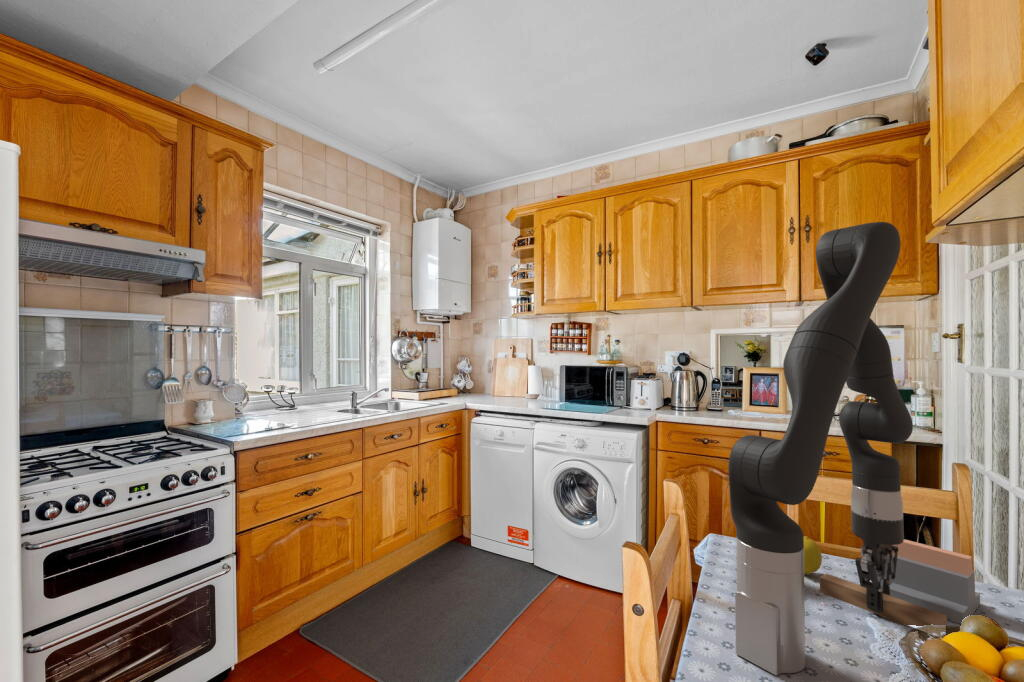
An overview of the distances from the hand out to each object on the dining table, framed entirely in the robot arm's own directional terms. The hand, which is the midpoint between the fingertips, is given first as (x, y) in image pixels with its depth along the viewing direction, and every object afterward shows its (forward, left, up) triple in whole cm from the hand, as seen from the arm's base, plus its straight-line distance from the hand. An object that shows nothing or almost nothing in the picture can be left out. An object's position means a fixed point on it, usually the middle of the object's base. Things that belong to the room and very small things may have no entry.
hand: (878, 606), depth 84 cm
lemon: (+5, +14, -1) cm, 15 cm away
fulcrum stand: (+13, -4, -1) cm, 13 cm away
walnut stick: (0, 0, -1) cm, 1 cm away
